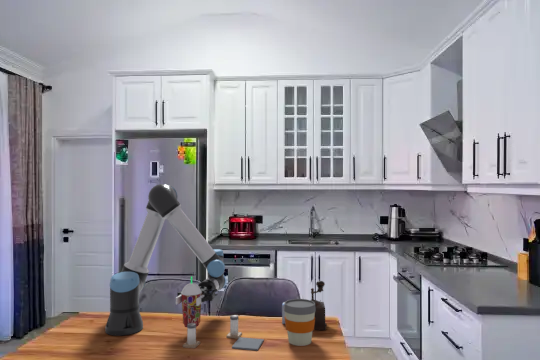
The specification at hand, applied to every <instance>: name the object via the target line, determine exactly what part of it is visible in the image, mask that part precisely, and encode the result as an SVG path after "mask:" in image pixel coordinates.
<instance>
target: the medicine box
mask: <svg viewBox="0 0 540 360" xmlns="http://www.w3.org/2000/svg"><path fill="white" fill-rule="evenodd" d="M285 302H286V301H283V302H282V304H281V317H282V318H281V320H282V321H281V324H282V325H285V311H284V304H285Z"/></svg>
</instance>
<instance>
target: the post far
mask: <svg viewBox="0 0 540 360" xmlns="http://www.w3.org/2000/svg"><path fill="white" fill-rule="evenodd" d="M229 317H230V318H229V320H230V323H229V324H230V330H229V332H228V334H226V338H227V339H236V340H238V338H239V337H241V336H242V335H243V333H242V331H239V315H238V314H231V315H230V316H229Z"/></svg>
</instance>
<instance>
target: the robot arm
mask: <svg viewBox="0 0 540 360" xmlns="http://www.w3.org/2000/svg"><path fill="white" fill-rule="evenodd" d="M147 196H148V197H147V199H148V201H147V204H146V207H145V210H146V211H147V213H146V217H145V218H144V222H143V223H142V227H141V228H140V232H139V233H138V234H139V235H138V237H137V240H136V242H135V245H134V247H133V250H132V253H131V256H130V257H129V260H128V262H125V263H124V264H123V266H122V270H121V272H118V273H115V274H113V275H112V276H111V277H110V282H109V289H110V290H109V315H108V318H107V321H106V323H105V326H104V327H105V333H106V335H110V336H128V335H132V334H133V335H134V334H136V333H139V332H141V331H142V330H143V329H144V322H143V318H142V316H141V313H140V293H141V292H142V291H143V290H144V288H145V285H146V280H147V278H148V276H149V273H150V270H149V268H148V266H149V263H150V261H151V258H152V255H153V253H154V250H155V248H156V245H157V242H158V239H159V237H160V234H161V232H162V229H163V226H164V224H165V221H166V220H167V221H168V223H169V224H170V225H171V226H172V228H173V229H174V230H175V232H177V233H178V235H179V236H180V237H181V239H182V240H183V241H184V243H185V244H186V245H187V247H189V249H190V250H191V251H192V253H193V254H194V255H195V256H196V257H197V259H198V260H199V261H200V263H201V264H202V265H203V267H204V268H205V269H206V271H207V278H206V279H204V280H203V281H201V282H200V283H199V284H197V285H198V286H199V287H200V289H201V291H202V295H201V296H200V297H198V298H197V299H196V306H199V305H200V304H201V305H202V304H203V303H205V302H208V301H209V302H212V301H213V300H214V299H215V298H216V296H218V292H219V291H220V290H222V289H223V288H224V287H225V286H226V283H227V278H226V276H225V275H224V272H225V269H226V264H225V262H224V250H223V249H219V248H218V249H217V248H216V249H215V248H214V249H213V247H212V246H211V245H210V244H209V242H208V240H206V239H205V237H204V236H203V235H202V233H201V232H200V231H199V230H198V229H197V227H196V225H195V224H193V222H192V221H191V219H190V218H189V216H188V215H186V213H185V212H184V211H183V209H182V204H181V203H180V202H179V201H178V192H177V190H176V189H175V188H174V187H173V186H172V185H170V184H167V183H159V184H156V185H155V186H152V188H151V189H150V190H149V192H148V195H147ZM181 292H182V290H181V291H178V292H177V294H176V295H177V296H176V297H175V305H177V306H178V305H179V304H182V297H181Z"/></svg>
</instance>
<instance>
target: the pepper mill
mask: <svg viewBox="0 0 540 360" xmlns="http://www.w3.org/2000/svg"><path fill="white" fill-rule="evenodd" d="M315 284H316V287H317V290H315V289H314V288H313V287H312V288H311V289H310V290H311V291H310V293H311V299H310V300H311V301H313V302H315V308H316V311H315V315H314V317H315V324H314V330H313V331H326V330H327V328H326V327H327V323H326V306H325V305H326V304H325V303H324V301H322V300H321V299H319V300H317V299H315V297H314V295H315V294H319V293H322V292H324V287H325V285H326V284H325V282H324V281H323V280H318V281H316V283H315ZM314 290H315V291H314Z"/></svg>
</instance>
